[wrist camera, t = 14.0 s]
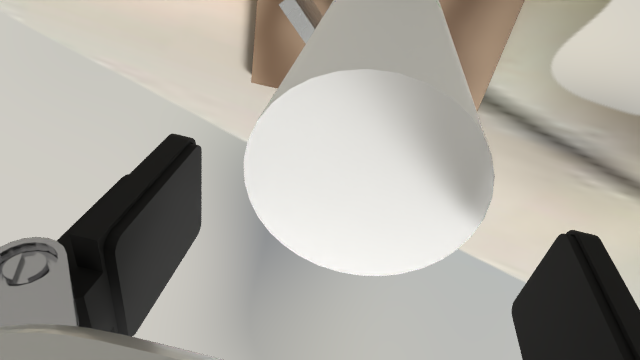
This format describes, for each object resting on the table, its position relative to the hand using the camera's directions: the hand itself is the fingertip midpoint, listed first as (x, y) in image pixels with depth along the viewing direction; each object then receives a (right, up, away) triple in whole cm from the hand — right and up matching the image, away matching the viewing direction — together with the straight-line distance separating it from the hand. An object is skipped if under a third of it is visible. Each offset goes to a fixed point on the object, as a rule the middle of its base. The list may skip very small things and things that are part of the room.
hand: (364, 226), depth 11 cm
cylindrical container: (+4, +15, +22) cm, 27 cm away
